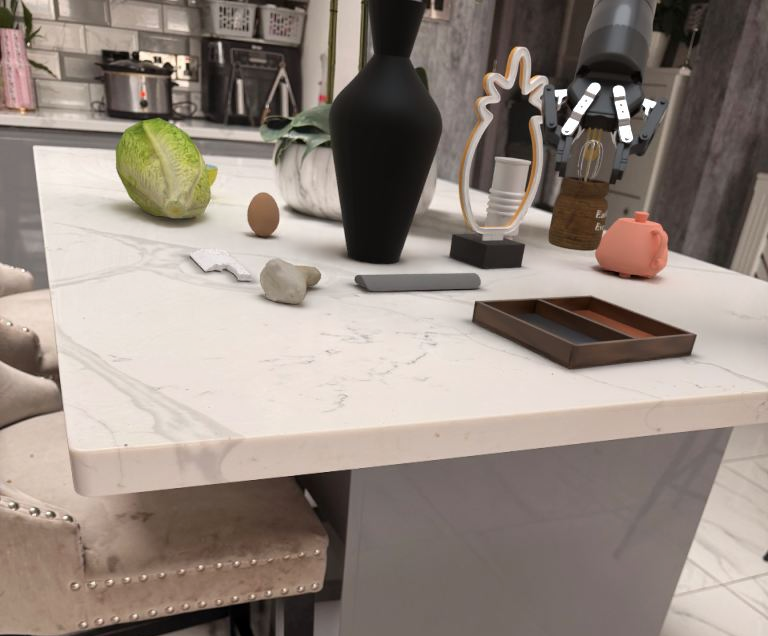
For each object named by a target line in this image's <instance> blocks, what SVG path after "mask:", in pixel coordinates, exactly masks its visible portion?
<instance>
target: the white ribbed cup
mask: <svg viewBox="0 0 768 636" xmlns="http://www.w3.org/2000/svg"><path fill="white" fill-rule="evenodd" d="M494 161H495V162H494V163H495V164H494V171H493V176H492V177H493V178H492V183H491V187H490V188H489V190H488V192H489V193H490V194H489V195H488V200H489V201H487V204H486V205H487V206H488V207H486V209H485V212H487V213H486V217H485V221H484V226H483V227H502V226H506V225H507V224H508V223H509V222H510V221H511V219H512V218H513V216H514V215H515V213H516V212H517V210H518V208H519V206H520V204H521V202H522V200H523V198H524V196H525V193H526V191H525V190H526V184H527V180H528V175H529V168H530V166H531V165H532V161H531V160H527V159H521V158H515V157H505V156H494ZM519 231H520V225H519V226H518V227H517V228H516V229H515V230H514V231H512V232H510V233H508V234H504V236H503V238H507V239H510V240H513V241H514V239H513V237H517V236H518V235H519Z"/></svg>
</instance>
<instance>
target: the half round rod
mask: <svg viewBox="0 0 768 636" xmlns="http://www.w3.org/2000/svg"><path fill="white" fill-rule="evenodd" d="M354 282H355V283H356V284H357V285H359V286H361V287H363V288H365V289H366V290H368V291H371V292H391V291H392V292H395V291H396V292H397V291H430V290H431V291H432V290H465V289H466V290H467V289H469V290H470V289H473V290H474V289H478V288H480V287H481V285H482V280H481V277H480V276H479V274H477V273H476V272H456V273H455V272H454V273H453V272H451V273H449V272H447V273H386V274H384V273H382V274H381V273H380V274H377V273H376V274H356V275H355V276H354Z"/></svg>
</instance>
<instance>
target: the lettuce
mask: <svg viewBox="0 0 768 636" xmlns="http://www.w3.org/2000/svg"><path fill="white" fill-rule="evenodd" d="M205 164H206V162H205V160H204V157H203V155H202V153H201V152H200V150H199V148H198V146H197V145H196V144H195V142H194V140H192V138H191V137H190V135H189V134H188V133H187V132H186V131H184V130H183V129H181V128H179V127H178V126H177V125H175V124H173V123H171V122H169V121H167V120H166V119H165V120H164V119H163V118H160V117H155V118H150V119H144V120H140V121H139V122H136V123H135V124H133V125H130V126H129V127H127V128H125V130H124V132H123V134H122V135H121V136H120V139H119V140H118V142H117V144H116V147H115V169H116V173H117V175H118V177H119V180H120V181H121V183H122V185H123V187H124V189H125V191H126V193H127V195H128V197H129V198H130V199H131V201H133V202H134V203H135V204H136V205H137V206H138V207H139V209H141V210H142V211H144V212H146V213H147V214H149V215H152V216H155V217H165V218H170V219H193V218H195V217H197V216H199V215H201V214H203V213H205V212H206V210H207V207H208V205H209V203H210V201H211V197H212V191H211V187H210V183H209V176H208V172H207V168H206V165H205Z"/></svg>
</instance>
